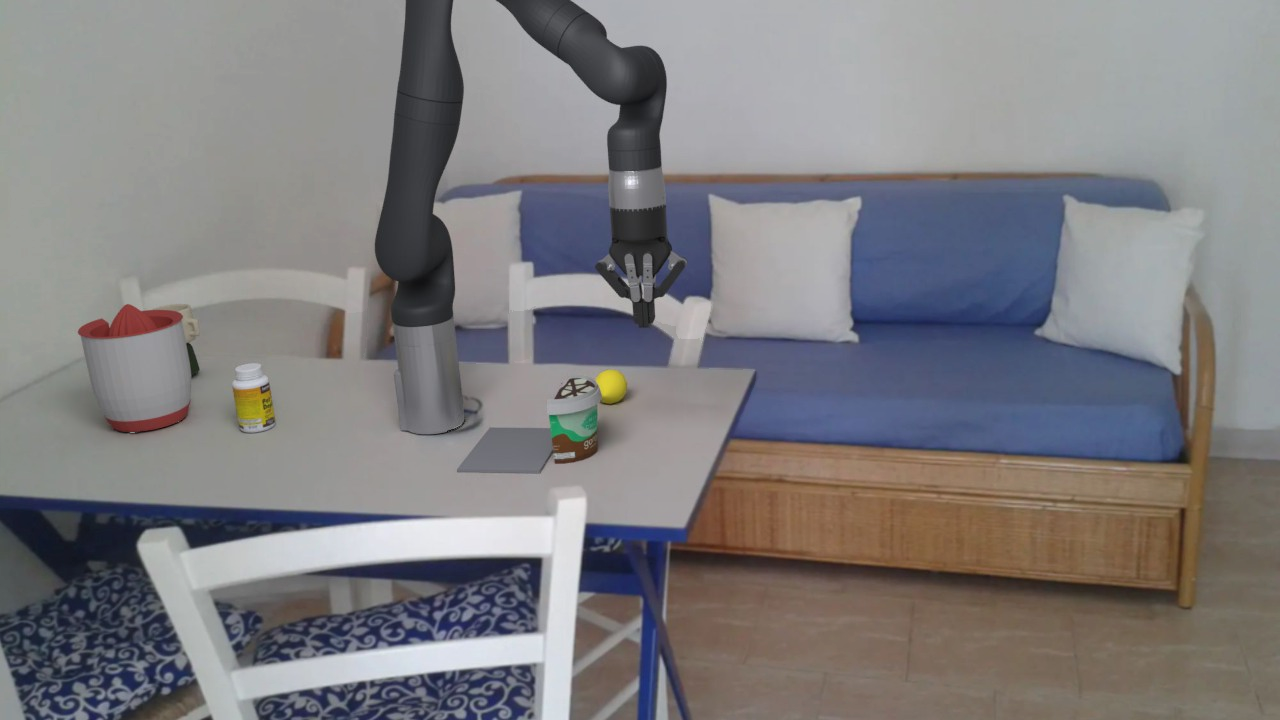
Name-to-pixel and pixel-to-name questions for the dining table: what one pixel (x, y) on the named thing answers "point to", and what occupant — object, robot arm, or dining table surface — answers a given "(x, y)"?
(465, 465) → the charcoal mat
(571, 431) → the food container
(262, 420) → the supplement bottle
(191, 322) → the character mug
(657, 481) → the dining table surface
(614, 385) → the lemon
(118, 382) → the citrus juicer
